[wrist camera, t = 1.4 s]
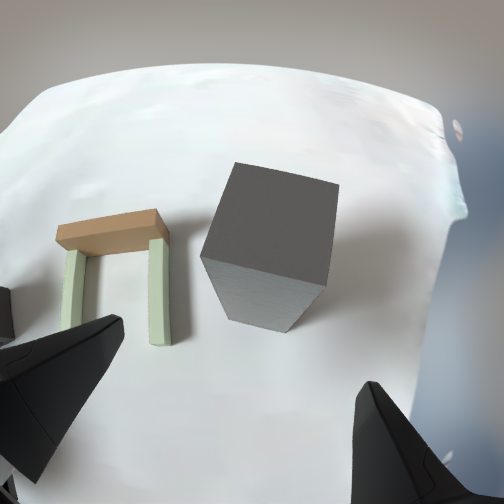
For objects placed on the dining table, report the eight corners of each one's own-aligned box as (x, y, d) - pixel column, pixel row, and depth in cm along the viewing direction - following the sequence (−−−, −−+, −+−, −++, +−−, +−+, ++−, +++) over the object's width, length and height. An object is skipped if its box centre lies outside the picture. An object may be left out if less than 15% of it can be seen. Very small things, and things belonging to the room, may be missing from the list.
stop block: (285, 333, 21) (325, 286, 9) (228, 319, 21) (199, 256, 10) (296, 279, 22) (339, 184, 11) (243, 266, 23) (235, 162, 11)
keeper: (171, 345, 20) (154, 340, 16) (71, 345, 20) (44, 338, 16) (169, 232, 24) (156, 208, 20) (79, 244, 24) (58, 225, 20)
